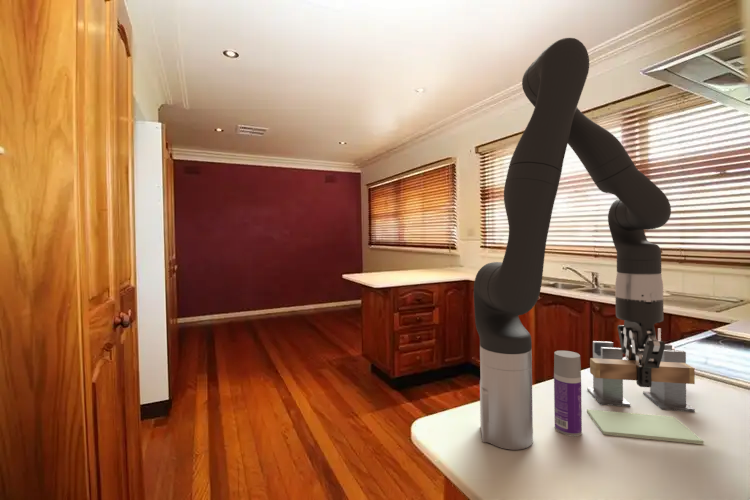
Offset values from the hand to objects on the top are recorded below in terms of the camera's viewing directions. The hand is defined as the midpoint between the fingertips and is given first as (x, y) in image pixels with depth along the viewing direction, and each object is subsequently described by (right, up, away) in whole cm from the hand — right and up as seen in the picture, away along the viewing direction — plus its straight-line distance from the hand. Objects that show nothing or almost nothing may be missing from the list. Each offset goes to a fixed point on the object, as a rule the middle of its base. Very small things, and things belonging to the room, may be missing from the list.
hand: (639, 382), depth 69 cm
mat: (0, -9, 0) cm, 9 cm away
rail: (0, +1, 0) cm, 1 cm away
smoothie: (+21, -8, +21) cm, 30 cm away
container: (-14, -9, 0) cm, 17 cm away
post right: (+14, -8, +10) cm, 19 cm away
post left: (+2, -9, +13) cm, 16 cm away
